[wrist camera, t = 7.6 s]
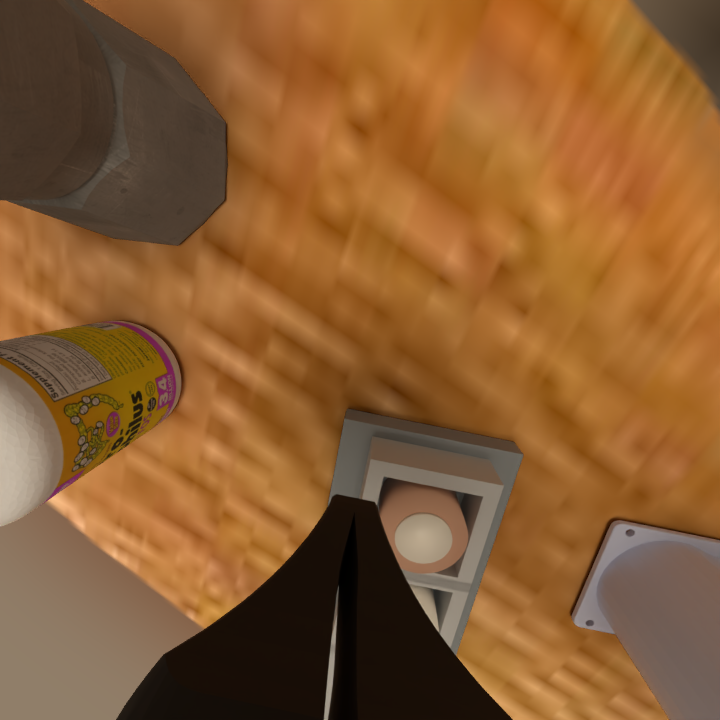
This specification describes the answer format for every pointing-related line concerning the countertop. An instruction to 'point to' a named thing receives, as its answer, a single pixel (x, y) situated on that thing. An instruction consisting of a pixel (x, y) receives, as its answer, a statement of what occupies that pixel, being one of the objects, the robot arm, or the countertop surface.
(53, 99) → the coffeepot
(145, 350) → the supplement bottle
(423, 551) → the terracotta button
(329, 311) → the countertop surface
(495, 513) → the button board
